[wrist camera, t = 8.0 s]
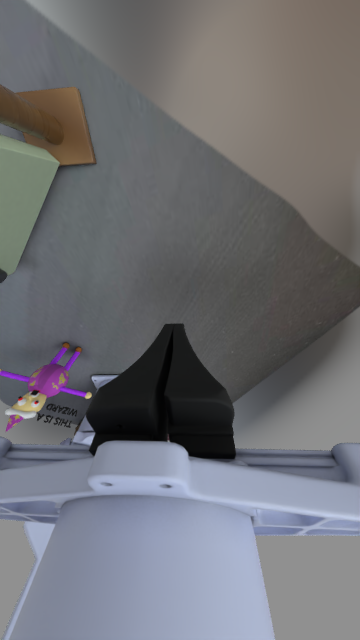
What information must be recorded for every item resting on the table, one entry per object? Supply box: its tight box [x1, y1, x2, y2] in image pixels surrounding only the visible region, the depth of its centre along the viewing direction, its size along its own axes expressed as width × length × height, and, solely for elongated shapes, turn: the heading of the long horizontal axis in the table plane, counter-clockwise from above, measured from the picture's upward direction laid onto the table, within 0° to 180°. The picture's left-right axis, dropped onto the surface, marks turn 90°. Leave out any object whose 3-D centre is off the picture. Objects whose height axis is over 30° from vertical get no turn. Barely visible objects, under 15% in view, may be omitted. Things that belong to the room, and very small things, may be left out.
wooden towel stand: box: [0, 84, 96, 167], centre depth 10 cm, size 4×5×10 cm
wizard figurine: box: [0, 343, 92, 431], centre depth 23 cm, size 11×3×12 cm, turn 67°
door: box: [0, 135, 60, 283], centre depth 14 cm, size 13×2×7 cm, turn 137°
